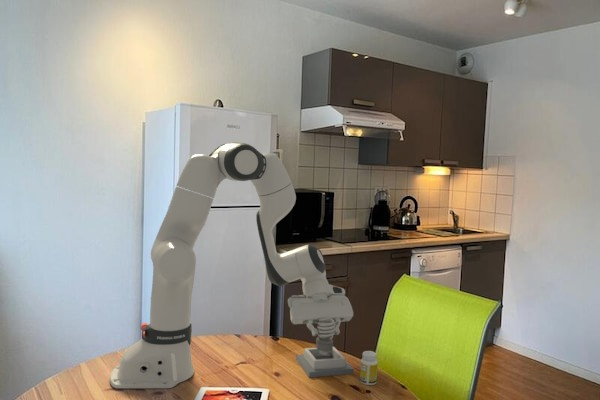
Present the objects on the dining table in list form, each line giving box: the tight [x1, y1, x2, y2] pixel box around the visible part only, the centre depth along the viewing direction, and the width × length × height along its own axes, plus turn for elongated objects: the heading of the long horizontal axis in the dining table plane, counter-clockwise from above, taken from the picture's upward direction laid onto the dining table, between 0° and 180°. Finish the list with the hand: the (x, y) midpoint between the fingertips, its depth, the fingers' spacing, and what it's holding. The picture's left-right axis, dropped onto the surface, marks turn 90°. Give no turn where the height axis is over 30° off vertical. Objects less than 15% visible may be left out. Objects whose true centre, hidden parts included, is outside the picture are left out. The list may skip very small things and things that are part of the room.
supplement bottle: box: [359, 350, 379, 386], centre depth 130 cm, size 5×5×8 cm
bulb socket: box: [295, 346, 354, 378], centre depth 140 cm, size 14×13×4 cm
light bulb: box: [315, 318, 336, 356], centre depth 139 cm, size 6×6×12 cm
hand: (326, 334), depth 139 cm, fingers closed on light bulb, 6 cm apart
